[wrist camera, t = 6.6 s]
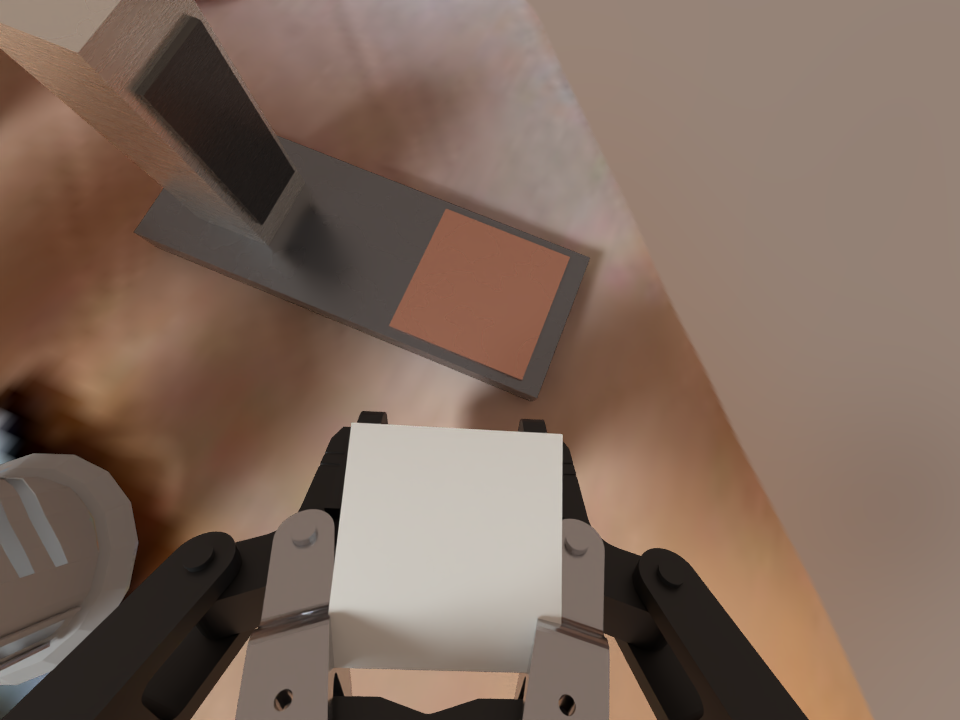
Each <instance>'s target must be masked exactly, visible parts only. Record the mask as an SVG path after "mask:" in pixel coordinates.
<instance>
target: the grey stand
mask: <svg viewBox="0 0 960 720" xmlns="http://www.w3.org/2000/svg"><path fill="white" fill-rule="evenodd" d="M0 49H2V50H3V51H4V52H5V53H6V54H8V55H9V56H10V57H11V58H12V59H13V60H15V61H16V62H17V63H18V64H19V65H20V66H22V67H23V68H24V69H25V70H26V71H27V72H29V73H30V74H31V75H32V76H33V77H34V78H36V79H37V80H38V81H39V82H40V83H41V84H43V85H44V86H45V87H46V88H47V89H48V90H50V91H51V92H52V93H53V94H54V95H56V96H57V97H58V98H59V99H60V100H61V101H63V102H64V103H65V104H66V105H67V106H68V107H70V108H71V109H72V110H73V111H74V112H75V113H77V114H78V115H79V116H80V117H81V118H82V119H84V120H85V121H86V122H87V123H88V124H89V125H91V126H92V127H93V128H94V129H95V130H96V131H98V132H99V133H100V134H101V135H102V136H104V137H105V138H106V139H107V140H108V141H109V142H111V143H112V144H113V145H114V146H115V147H116V148H118V149H119V150H120V151H121V152H122V153H123V154H125V155H126V156H127V157H128V158H129V159H130V160H132V161H133V162H134V163H135V164H136V165H137V166H139V167H140V168H141V169H142V170H143V171H144V172H146V173H147V174H148V175H149V176H150V177H152V178H153V179H154V180H155V181H156V182H157V183H159V184H160V185H161V186H162V187H163V188H164V189H163V190H162V192H161V193H160V195H159V196H158V198H157V199H156V200H155V202H154V203H153V205H152V206H151V208H150V209H149V211H148V212H147V214H146V215H145V217H144V218H143V219H142V221H141V222H140V224H139V225H138V227H137V228H136V230H135V231H134V233H136V234H137V235H139V236H140V237H142V238H143V239H145V240H147V241H148V242H150V243H151V244H153V245H154V246H156V247H158V248H160V249H163V250H165V251H168V252H170V253H172V254H175V255H177V256H180V257H182V258H185V259H187V260H189V261H192V262H194V263H197V264H199V265H202V266H204V267H206V268H209V269H211V270H214V271H216V272H219V273H221V274H223V275H226V276H228V277H231V278H233V279H236V280H238V281H240V282H243V283H245V284H248V285H250V286H253V287H255V288H257V289H260V290H262V291H265V292H267V293H270V294H272V295H274V296H277V297H279V298H282V299H284V300H287V301H289V302H291V303H294V304H296V305H299V306H301V307H304V308H306V309H308V310H311V311H313V312H316V313H318V314H321V315H323V316H325V317H328V318H330V319H333V320H335V321H338V322H340V323H342V324H345V325H347V326H350V327H352V328H354V329H357V330H359V331H362V332H364V333H367V334H369V335H371V336H374V337H376V338H379V339H381V340H384V341H386V342H388V343H391V344H393V345H396V346H398V347H401V348H403V349H405V350H408V351H410V352H413V353H415V354H418V355H420V356H422V357H425V358H427V359H430V360H432V361H435V362H437V363H439V364H442V365H444V366H447V367H449V368H452V369H454V370H456V371H459V372H461V373H464V374H466V375H469V376H471V377H473V378H476V379H478V380H481V381H483V382H486V383H488V384H490V385H493V386H495V387H498V388H500V389H503V390H505V391H507V392H510V393H512V394H515V395H517V396H520V397H522V398H524V399H527V400H529V401H533V400H535V399H536V398H537V397H538V394H539V392H540V389H541V386H542V384H543V381H544V378H545V376H546V373H547V370H548V368H549V365H550V363H551V360H552V357H553V355H554V352H555V349H556V347H557V344H558V341H559V339H560V336H561V333H562V331H563V328H564V325H565V323H566V320H567V317H568V315H569V312H570V310H571V307H572V304H573V302H574V299H575V296H576V294H577V291H578V288H579V286H580V283H581V280H582V278H583V275H584V272H585V270H586V267H587V265H588V262H589V259H590V258H589V257H587V256H584V255H582V254H579V253H576V252H574V251H571V250H569V249H566V248H564V247H561V246H558V245H556V244H553V243H551V242H548V241H546V240H543V239H541V238H538V237H535V236H533V235H530V234H528V233H525V232H523V231H520V230H518V229H515V228H512V227H510V226H507V225H505V224H502V223H500V222H497V221H494V220H492V219H489V218H487V217H484V216H482V215H479V214H477V213H474V212H471V211H469V210H466V209H464V208H461V207H459V206H456V205H453V204H451V203H448V202H446V201H443V200H441V199H438V198H436V197H433V196H430V195H428V194H425V193H423V192H420V191H418V190H415V189H413V188H410V187H407V186H405V185H402V184H400V183H397V182H395V181H392V180H389V179H387V178H384V177H382V176H379V175H377V174H374V173H372V172H369V171H366V170H364V169H361V168H359V167H356V166H354V165H351V164H348V163H346V162H343V161H341V160H338V159H336V158H333V157H331V156H328V155H325V154H323V153H320V152H318V151H315V150H313V149H310V148H308V147H305V146H302V145H300V144H297V143H295V142H292V141H290V140H287V139H284V138H282V137H279V136H277V135H276V134H275V132H274V131H273V129H272V127H271V126H270V124H269V122H268V121H267V119H266V117H265V116H264V114H263V112H262V111H261V109H260V108H259V106H258V104H257V103H256V101H255V99H254V98H253V96H252V94H251V93H250V91H249V89H248V88H247V86H246V85H245V83H244V81H243V80H242V78H241V76H240V75H239V73H238V71H237V70H236V68H235V66H234V65H233V63H232V61H231V60H230V58H229V57H228V55H227V53H226V52H225V50H224V48H223V47H222V45H221V43H220V42H219V40H218V38H217V37H216V35H215V34H214V32H213V30H212V29H211V27H210V25H209V24H208V22H207V20H206V19H205V17H204V15H203V14H202V12H201V11H200V9H199V7H198V6H197V4H196V2H195V1H194V0H0Z"/></svg>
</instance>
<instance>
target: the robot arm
mask: <svg viewBox="0 0 960 720" xmlns="http://www.w3.org/2000/svg"><path fill="white" fill-rule="evenodd" d="M357 423H370V424H388V421H387V414H386V412H371V411H362V412H361V414H360V416H359V419H358V421H357ZM350 431H351V427H343V428H342V429H341V430H340V431H339V432H337V433H336V434H335V435H334V436H333V437H332V438H331V440H330V443H329V445H328V447H327V449H326V452H325V455H324V456H323V458H322V461H321V463H320V466H319V467H318V470H317V472H316V474H315V476H314V479H313V481H312V483H311V485H310V488H309V490H308V492H307V494H306V497H305V499H304V501H303V503H302V505H301V508H300V509H299V511H298V513H296V514H294V515H292V516H290V517H289V518H287V519H286V520H285V521H284V522H283V523H282V524H281V525H280V526H279V528H278V529H277V531H275V532H272V533H270V534H267V535H263V536H259V537H255V538H252V539H248V540H244V541H240V542H236V543H235V541H234V540H233V538H232V537H231V536H230V535H228V534H226V533H223V532H209V533H204V534H201V535H198V536H196V537H194V538H192V539H190V540H189V541H187V542H185V543H184V544H183V545H181V546H180V547H179V548H178V549H177V550H176V551H175V552H174V553H173V554H171V555H170V556H169V557H168V558H167V559H166V560H165V561H164V562H163V563H162V564H161V565H160V566H159V567H158V568H157V569H156V570H155V571H154V572H153V573H152V574H151V575H150V576H149V577H148V578H147V579H146V580H145V581H144V582H143V583H142V584H141V585H140V586H138V587H137V588H136V589H135V590H134V591H133V592H132V593H131V594H130V595H129V596H128V597H127V598H126V599H125V600H124V601H123V602H122V603H121V604H120V605H119V606H118V607H117V608H116V609H115V610H114V611H113V612H112V613H111V614H110V615H109V616H108V617H107V618H106V619H104V620H103V621H102V622H101V623H100V624H99V625H98V626H97V627H96V628H95V629H94V630H93V631H92V632H91V633H90V634H89V635H88V636H87V637H86V638H85V639H84V640H83V641H82V642H81V643H80V644H79V645H78V646H77V647H76V648H75V649H74V650H73V651H72V652H70V653H69V654H68V655H67V656H66V657H65V658H64V659H63V660H62V661H61V662H60V663H59V664H58V665H57V666H56V667H55V668H54V669H53V670H52V671H51V672H50V673H49V674H48V675H47V676H46V677H45V678H44V679H43V680H42V681H41V682H40V683H39V684H37V685H36V686H35V687H34V688H33V689H32V690H31V691H30V692H29V693H28V694H27V695H26V696H25V697H24V698H23V699H22V700H21V701H20V702H19V703H18V704H17V705H16V706H15V707H14V708H13V709H12V710H11V711H10V712H9V713H8V714H7V715H6V716H5V717H3V718H2V719H1V720H190V719H191V718H192V717H193V715H194V714H195V712H196V711H197V710H198V708H199V707H200V705H201V704H202V703H203V701H204V700H205V698H206V697H207V696H208V694H209V693H210V691H211V690H212V689H213V687H214V686H215V684H216V683H217V682H218V680H219V679H220V677H221V676H222V675H223V673H224V672H225V670H226V669H227V668H228V666H229V665H230V663H231V662H232V661H233V659H234V658H235V656H236V655H237V654H238V652H239V651H240V649H241V648H242V647H243V645H244V644H245V642H246V641H247V640H248V638H249V637H250V639H249V642H248V646H247V651H246V657H245V663H244V669H243V675H242V681H241V687H240V693H239V699H238V705H237V711H236V717H235V720H609V663H610V659H609V644H608V640H607V638H605V637H604V633H605V634H608V635H610V636H612V637H614V638H615V640H616V642H617V643H618V645H619V647H620V649H621V651H622V653H623V655H624V657H625V659H626V661H627V663H628V665H629V666H630V668H631V670H632V672H633V674H634V676H635V678H636V680H637V682H638V684H639V686H640V688H641V689H642V691H643V693H644V695H645V697H646V699H647V701H648V703H649V705H650V707H651V709H652V711H653V712H654V714H655V716H656V718H657V720H809V719H808V718H807V717H806V716H805V714H804V713H803V712H802V710H801V709H800V708H799V706H798V705H797V704H796V703H795V701H794V700H793V699H792V697H791V696H790V695H789V693H788V692H787V691H786V689H785V688H784V687H783V686H782V684H781V683H780V682H779V680H778V679H777V678H776V676H775V675H774V674H773V672H772V671H771V670H770V669H769V667H768V666H767V665H766V663H765V662H764V661H763V659H762V658H761V657H760V655H759V654H758V653H757V652H756V650H755V649H754V648H753V646H752V645H751V644H750V642H749V641H748V640H747V638H746V637H745V636H744V635H743V633H742V632H741V631H740V629H739V628H738V627H737V625H736V624H735V623H734V621H733V620H732V619H731V618H730V616H729V615H728V614H727V612H726V611H725V610H724V608H723V607H722V606H721V605H720V603H719V602H718V601H717V599H716V598H715V597H714V595H713V594H712V593H711V591H710V590H709V589H708V588H707V586H706V585H705V584H704V582H703V581H702V580H701V578H700V577H699V576H698V574H697V573H696V572H695V571H694V569H693V568H692V567H691V566H690V564H689V563H688V562H687V561H685V560H684V559H683V558H682V557H680V556H679V555H677V554H676V553H674V552H671V551H669V550H666V549H661V548H653V549H649V550H647V551H646V552H644V553H643V554H642V556H639V555H636V554H633V553H631V552H628V551H625V550H622V549H619V548H617V547H614V546H612V545H610V544H608V543H607V542H605V541H604V540H603V539H602V538H601V537H600V536H599V534H598V533H597V532H596V530H595V529H593V528H592V527H591V525H590V523H589V520H588V517H587V513H586V509H585V506H584V502H583V498H582V495H581V491H580V487H579V483H578V480H577V477H576V472H575V469H574V466H573V461H572V457H571V454H570V450H569V448H568V447H567V446H566V444H565V443H564V442H563V458H562V615H561V624H558V623H554V622H550V621H546V620H542V619H538V618H537V623H536V628H535V633H534V638H533V643H532V648H531V653H530V658H529V663H528V668H527V673H519V677H518V682H517V687H516V692H515V697H514V699H476V700H473V701H470V702H467V703H464V704H461V705H458V706H454V707H451V708H448V709H445V710H442V711H439V712H436V713H432V714H424V713H421V712H419V711H416V710H413V709H411V708H408V707H405V706H403V705H400V704H397V703H395V702H392V701H389V700H387V699H384V698H381V697H361V696H352V684H351V674H350V668H334V657H333V644H332V631H331V619H330V614H328V612H329V603H330V595H331V587H332V579H333V571H334V562H335V554H336V546H337V538H338V530H339V521H340V513H341V505H342V497H343V489H344V480H345V472H346V464H347V456H348V448H349V439H350ZM518 432H533V433H547V431H546V426H545V422H544V420H534V419H521V420H520V423H519V429H518ZM257 627H258V629H255V628H257ZM250 635H251V636H250Z"/></svg>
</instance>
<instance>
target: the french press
mask: <svg viewBox="0 0 960 720" xmlns="http://www.w3.org/2000/svg"><path fill="white" fill-rule="evenodd" d="M137 547H138V538H137V532H136V527H135V522H134V516H133V511H132V505H131V502H130V500H129V499H128V498H127V496H126V495H125V493H124V492H123V491H122V489H121V488H120V487H119V485H118V484H117V483H116V481H115V480H114V479H113V477H112V476H111V475H110V473H109V472H108V471H106V470H104V469H102V468H100V467H98V466H96V465H94V464H92V463H90V462H88V461H86V460H84V459H82V458H80V457H78V456H76V455H68V454H36V453H33V454H30V455H27V456H24V457H21V458H18V459H16V460H13V461H10V462H7V463H4V464H1V465H0V685H18V684H21V683H23V682H26V681H28V680H31V679H33V678H36V677H38V676H41V675H43V674H45V673H48V672H50V671H52V670H53V669H54V668H55V667H56V666H57V665H58V664H59V663H60V662H61V661H62V660H63V659H64V658H65V657H66V656H67V655H68V654H69V653H70V652H72V651H73V650H74V649H75V648H76V647H77V646H78V645H79V644H80V643H81V642H82V641H83V640H84V639H85V638H86V637H87V636H88V635H89V634H90V633H91V632H92V631H93V630H94V629H95V628H96V627H97V626H98V625H99V624H100V623H101V622H102V621H103V620H104V619H106V618H107V617H108V616H109V615H110V614H111V613H112V612H113V611H114V610H115V609H116V608H117V607H118V606H119V604H120V603H121V601H122V599H123V598H124V596H125V594H126V592H127V591H128V589H129V586H130V581H131V576H132V572H133V567H134V562H135V557H136V552H137Z"/></svg>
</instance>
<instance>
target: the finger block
mask: <svg viewBox="0 0 960 720" xmlns="http://www.w3.org/2000/svg"><path fill="white" fill-rule="evenodd" d="M562 458H563V434H551V433H533V432H515V431H497V430H479V429H461V428H443V427H425V426H407V425H388V424H370V423H351V431H350V439H349V448H348V456H347V464H346V472H345V480H344V489H343V497H342V505H341V513H340V521H339V530H338V538H337V546H336V554H335V562H334V571H333V579H332V587H331V595H330V603H329V612H328V614H330V619H331V631H332V644H333V657H334V668H365V669H402V670H439V671H476V672H513V673H527V668H528V663H529V658H530V653H531V648H532V643H533V638H534V633H535V628H536V623H537V618H538V619H542V620H546V621H550V622H554V623H558V624H561V615H562Z"/></svg>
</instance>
